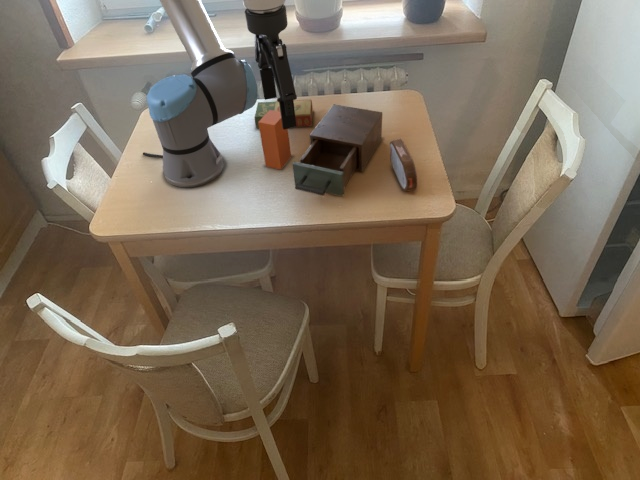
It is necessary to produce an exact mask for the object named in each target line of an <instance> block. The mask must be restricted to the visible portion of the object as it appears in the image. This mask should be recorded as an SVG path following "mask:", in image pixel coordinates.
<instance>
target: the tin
mask: <svg viewBox="0 0 640 480" xmlns="http://www.w3.org/2000/svg"><path fill="white" fill-rule="evenodd" d="M389 160H390V163H391V167H392V170H393V172H394V174H395V177H396V179H397V181H398V183H399V185H400V187H401V189H402V191H404V192H411V191H416V190H417V188H418V175H417V174H418V173H417V169H416V165H415V162H414V159H413V157H412V156H411V153H410V151H409V149H408V148H407V145H406V144H405V141H404V140H403V138H398V139H392V140H391V141H390V142H389Z"/></svg>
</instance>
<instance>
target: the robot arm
mask: <svg viewBox="0 0 640 480" xmlns="http://www.w3.org/2000/svg"><path fill="white" fill-rule="evenodd" d="M159 2H160V4H161V5H162V8H163V11H165V13H166V15H167V17H168V19H169V21H170V23H171V25H172V27H173V29H174V32H176V35H177V36H178V39H179V41H180V43H181V45H182V46H183V48H184V51H185V52H186V54H187V57H188V59H189V60H190V62H191V63H192V64H191V69H190V72H189V73H190V75H191V76H190V75H187V74H177V75H174V74H173V75H169V76H167V77H164V78H162V79H160V80H159V81H157V82H156V83H154V84H153V85H152V86H151V87H150V88H149V89H148V92H147V94H146V103H147V107H148V113H149V117H150V119H151V120H152V122H153V126H154V128H155V131H156V134H157V136H158V139H159V142H160V145H161V147H162V154H154V153H148V152H145V151H143V152H142V155H143V156H145V157H148V158H158V159H162V173H163V176H164V178H165V180H166V182H168V184H170V185H172V186H174V187H179V188H194V187H195V188H196V187H200V186H203V185H206V184H208V183H211V182H212V181H214V180H215V179H217V178H218V177H219V175H221V173H222V171H223V170H224V159H223V156H222V155H221V152H220V151H219V149H218V148H217V146H216V145H215V143H214V142H212V139H211V138H210V135H209V131H208V128H211V127H213V126H216V125H217V124H220V123H222V122H225V121H226V120H229V119H231V118H233V117H236V116H238V115H241V114H244V112H246V111H248V110H251V109H252V108H253V107H254V106H255V105H256V103H257V102H258V101H257V100H258V95H259V94H258V92H259V90H258V83H257V78H256V75H255V72H254V70H253V68H252V66H251V65H250V64H249V63H248V62H247V61H246V60H245V59H237V57H236V55H235V53H234V52H233V51H232V50H230V49H226V48H225V47H224V45H223V43H222V40H221V39H220V37H219V35H218V33H217V31H216V29H215V28H214V25H213V23H212V21H211V19H210V17H209V15H208V13H207V11H206V9H205V7H204V5H203V3H202V0H159ZM242 3H243V6H244V8H245V10H244V17H245V22H246V28H247V31H248V32H249V33H251V34H252V35H254V54H255V62H256V63H257V67H258V69H260V70H259V75H260V81H261V87H262V88H261V89H262V95H263V99H264V101H266V100H270V99H274V98H275V99H276V98H277V99H276V101H277V102H279V105H280V112H281V119H282V127H283V129H284V130H285V129H288V130H289V129H292V128H297V127H296V118H295V110H294V101H293V100H298V99H297V98H298V96H297V92H296V88H295V84H294V80H293V75H292V71H291V66H290V62H289V56H288V51H287V45H286V44H285V43H283V40H282V38H280V36H279V35H280V33H281V32H283V31H285V30H286V29H287V28H288V15H287V7H286V5H285V3H286V0H242ZM277 93H278V95H279V97H278V95H277Z"/></svg>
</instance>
